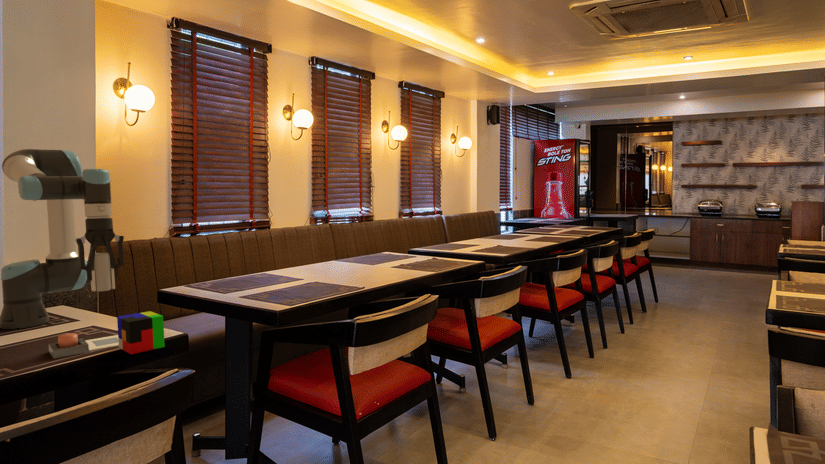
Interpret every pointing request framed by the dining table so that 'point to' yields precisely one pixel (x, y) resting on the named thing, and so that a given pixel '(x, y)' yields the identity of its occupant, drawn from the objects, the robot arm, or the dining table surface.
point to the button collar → (68, 349)
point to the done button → (68, 340)
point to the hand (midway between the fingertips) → (103, 289)
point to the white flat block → (103, 342)
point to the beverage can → (102, 271)
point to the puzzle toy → (140, 332)
